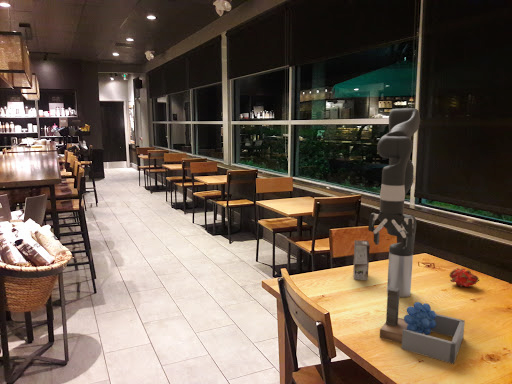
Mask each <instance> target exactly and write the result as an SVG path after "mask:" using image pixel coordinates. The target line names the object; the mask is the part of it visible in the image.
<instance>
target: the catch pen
mask: <svg viewBox="0 0 512 384" xmlns="http://www.w3.org/2000/svg"><path fill="white" fill-rule="evenodd" d="M433 320H434V321H435V322H436V327H435V328H430V329H431V333H432V332H433V333H436V334H441V335H445V336H449V337H451V336H452V337H451V338H452V340H451V341H450V340H446V339H443V338H439V337H435V336H433V335H430V334H429V335H425V334H424V333H423V334H421V333H417V332H414V331H410V330H406V329H403V335H402V344H401V350H404V351H408V352H411V353H415V354H417V355H418V354H419V355H422V356H425V357H429V358H431V359H436V360H438V359H439V360H438V361H442V360H443V361H442V362H445V361H446V363H448V362H450V363H449V364H452V363H453V364H452V365H455V362H456V359H457V357H456V356H458V354H459V351H460V348H461V345H462V343H461V342H463V339H464V332H465V323H466V321H465V320H464V319H460V318H455V317H453V316H452V317H451V316H447V315H443V314H439V313H436V318H435V319H433ZM457 353H458V354H457Z"/></svg>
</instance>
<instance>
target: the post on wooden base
mask: <svg viewBox="0 0 512 384" xmlns="http://www.w3.org/2000/svg"><path fill="white" fill-rule="evenodd" d="M399 293H400V289H397V288H393V287H390V288H389V289H388V293H387V296H386V298H387V301H386V315H385V316H386V317H385V320H386V321H385V322H384V324H383V325H382V326H381V327H380V329H379V338H380V339H383V340H387V341H391V342H394V343H397V344H400V345H402V335H403V329H406V330H408V329H407V325H408V324H407V323H405V321H404V318H402V317H399V309H400V308H399V307H400V297H399Z"/></svg>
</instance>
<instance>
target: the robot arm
mask: <svg viewBox="0 0 512 384" xmlns="http://www.w3.org/2000/svg"><path fill="white" fill-rule="evenodd" d="M420 116H421V114H420V111H419V110H418V109H417V108H414V107H407V108H392V109H391V110H390V111H389V114H388V132H387V133H386V134H384V135H383V136H381V138H380V139H379V140H378V142H377V146H376V147H377V148H376V150H377V153H378V156H380V157H381V158H383V159H389V160H388V165H387V166H384V167H383V168H382V170H381V172H382V173H381V186H380V187H381V188H380V194H379V213H375V212H372V213H370V214H369V219H368V226H367V227H368V229H367V231H368V232H372V233H373V243H374V245H379V243H380V231H381V230H382V229H383V228H385V229H386V231H387V234H388V235H389V236H394V237H399V238H401V242H397V243H392V244H390V246H389V249H388V254H389V255H388V268H387V282H386V283H387V284H386V292H387V294H388V289H389V288H390V287H393V288H397V289H400V293H399V298H408V297H410V296H411V290H412V289H411V288H412V278H413V277H412V275H413V260H414V248H415V240H416V231H417V219H416V217H415V216H414V215H410V214H409V215H408V214H404V212H405V197H406V195H407V194H408V192H409V191H410V189H411V187H412V186H413V183H414V169H415V168H414V164H413V162H412V160H411V158H410V156H411V154H412V151H413V146H414V145H413V144H414V143H413V141H412V139H411V137H412V136H413V135H414V134H416V133H417V131H418V130H419V127H420V125H421V124H420V122H421V117H420ZM377 219H378V220H379V222H380V223H379V224H378V225H377V227H375V222H376V220H377Z"/></svg>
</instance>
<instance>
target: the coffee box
mask: <svg viewBox="0 0 512 384" xmlns="http://www.w3.org/2000/svg"><path fill="white" fill-rule="evenodd" d="M353 246H354V247H353V248H354V249H353V250H354V251H353V252H354V253H353V271H352V272H353V279H354V280H358V281H359V280H360V281H368V279H369V264H370V250H371V249H370V243H369V240H356V239H355V240H354V245H353Z"/></svg>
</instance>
